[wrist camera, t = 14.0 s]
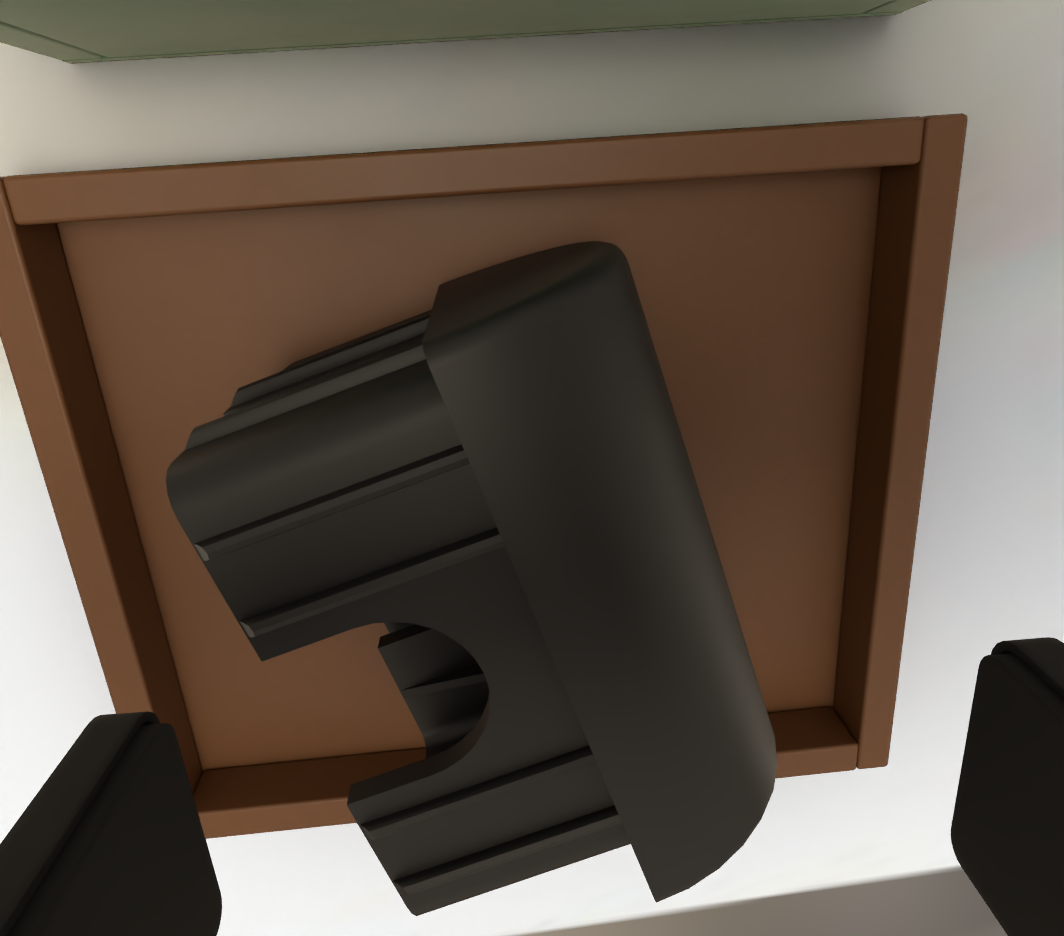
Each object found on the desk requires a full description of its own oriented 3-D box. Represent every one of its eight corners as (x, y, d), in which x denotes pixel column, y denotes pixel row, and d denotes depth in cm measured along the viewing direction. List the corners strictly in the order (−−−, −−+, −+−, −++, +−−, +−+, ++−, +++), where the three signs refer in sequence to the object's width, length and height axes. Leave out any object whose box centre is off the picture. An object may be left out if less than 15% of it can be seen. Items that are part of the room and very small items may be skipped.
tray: (911, 121, 16) (970, 113, 14) (851, 714, 21) (888, 767, 19) (15, 179, 15) (-51, 179, 13) (184, 782, 20) (154, 845, 18)
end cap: (715, 626, 19) (838, 851, 13) (444, 721, 19) (430, 986, 13) (584, 222, 15) (663, 253, 9) (256, 349, 16) (112, 463, 9)
